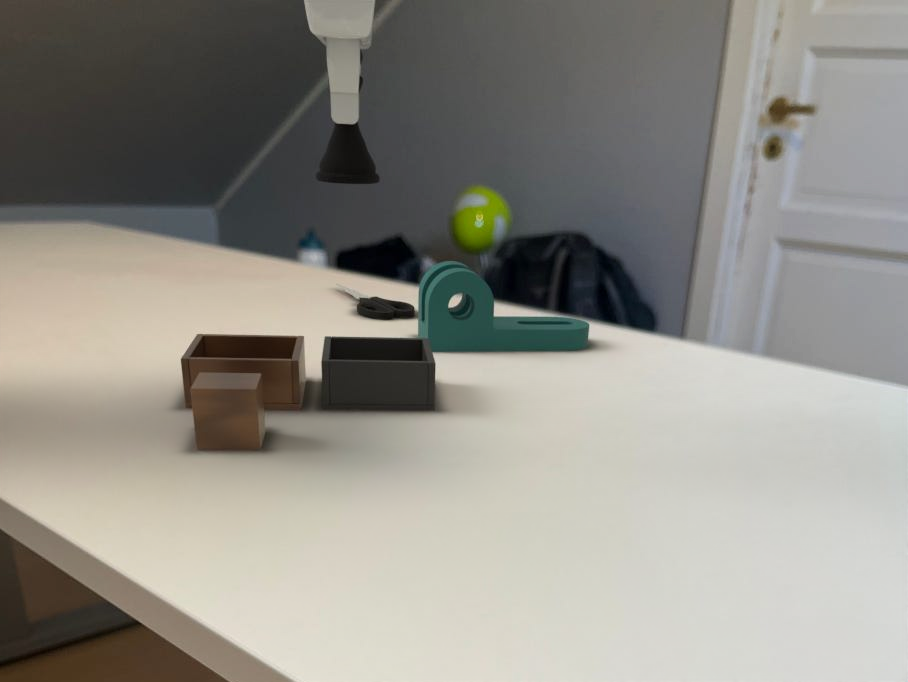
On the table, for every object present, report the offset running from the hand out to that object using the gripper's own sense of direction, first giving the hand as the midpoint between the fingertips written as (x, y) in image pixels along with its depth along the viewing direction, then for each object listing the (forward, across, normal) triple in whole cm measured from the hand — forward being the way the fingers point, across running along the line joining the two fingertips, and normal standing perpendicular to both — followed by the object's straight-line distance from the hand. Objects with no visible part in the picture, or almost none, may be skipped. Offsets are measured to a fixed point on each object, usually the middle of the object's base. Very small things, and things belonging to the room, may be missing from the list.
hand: (345, 123), depth 66 cm
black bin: (+21, -9, +2) cm, 23 cm away
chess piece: (+4, 0, 0) cm, 4 cm away
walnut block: (+21, +4, -9) cm, 23 cm away
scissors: (+21, -51, +1) cm, 55 cm away
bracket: (+21, -30, +16) cm, 40 cm away
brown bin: (+21, -9, -9) cm, 25 cm away
